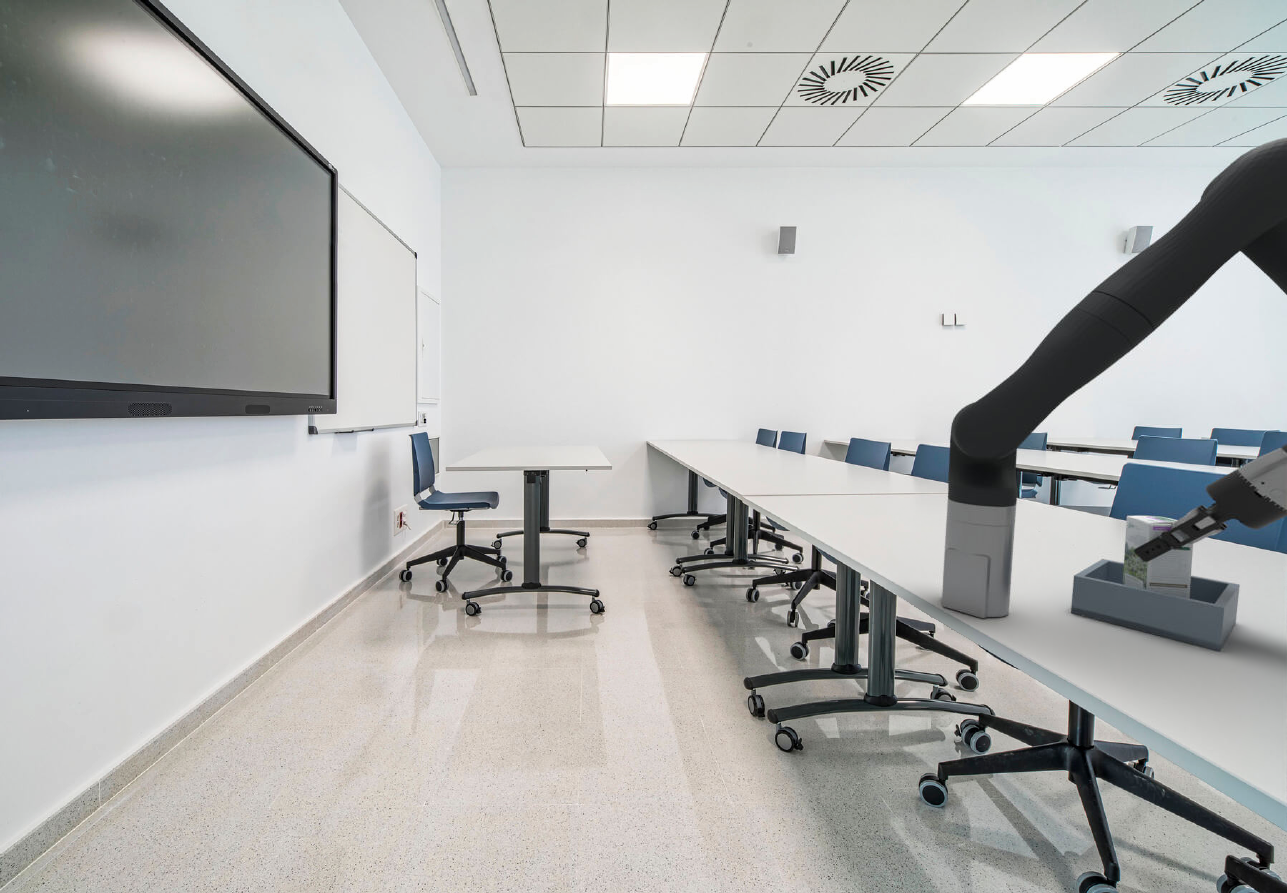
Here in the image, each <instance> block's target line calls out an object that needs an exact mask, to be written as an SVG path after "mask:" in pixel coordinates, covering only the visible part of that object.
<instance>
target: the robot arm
mask: <svg viewBox="0 0 1287 893" xmlns="http://www.w3.org/2000/svg"><path fill="white" fill-rule="evenodd" d="M1239 252H1240V253H1242V254H1243V255H1244V256H1245V257H1247V259H1249V260H1250V261H1251V262H1252V263H1253V264H1254V265H1255V266H1256V267H1257V268H1258V269H1259V270H1261V271H1262V272H1263V273H1264V274H1265V275H1266V276H1267V277H1269V279H1270V280H1271V281H1272V282H1273V283H1274V284H1275V285H1276V286H1277V287H1278V288H1279V289H1280V290H1281V291H1282V292H1283V293H1284V294H1285V295H1286V296H1287V137H1282V138H1277V139H1274V140H1272V141H1269V142H1265V143H1263V144H1260V145H1258V146H1256V147H1254V148H1252V149H1250V150H1248V151H1247V152H1245V153H1243V154H1242V155H1240V156H1239V157H1238V158H1236V159H1235V160H1233V161H1232V162H1231V163H1229V165H1228V166H1226V168H1224V170H1222V171H1220V173H1219V174H1217V175H1216V176H1215V177H1214V178H1213V179H1212V180H1211V181H1210V182H1209V183H1208V184H1207V186H1206V187H1205V188H1204V190H1203V192H1202V194H1201V196H1200V200H1199V202H1197V203H1196V205H1195V206H1194V207H1193V208H1192V209H1191V210H1190V211H1189V212H1188V213H1187V214H1185V216H1184V217H1183V218H1182V219H1181V220H1180V221H1178V222H1177V224H1176V225H1174V226H1173V227H1172V228H1171V229H1169V230H1168V232H1166V233H1165V234H1163V235H1162V236H1161V237H1159V239H1157V240H1156V241H1154V242H1153V243H1151V244H1150V245H1149V246H1147V247H1146V248H1145V249H1144V250H1142V251H1141V252H1139V253H1138V254H1136V255H1135V256H1134V257H1133V258H1131V259H1130V260H1128V261H1127V262H1126V263H1125V264H1123V265H1122V266H1120V267H1119V268H1118V269H1117V270H1115V271H1114V272H1113V273H1112V274H1110V275H1109V276H1108V277H1107V278H1106V279H1104V280H1103V281H1102V282H1101V283H1099V284H1098V285H1097V286H1096V287H1095V288H1093V289H1092V290H1091V291H1090V292H1089V293H1087V295H1085V297H1084V298H1083V299H1082V300H1080V301H1079V302H1078V303H1077V304H1076V305H1075V306H1074V307H1073V308H1072V309H1071V310H1069V312H1067V313H1066V314H1065V316H1063V317H1062V318H1061V319H1060V320H1059V321H1058V322H1057V323H1056V324H1055V326H1054V327H1053V328H1052V329H1051V330H1050V331H1049V333H1048V334H1047V335H1046V336H1045V337H1044V338H1043V340H1042V341H1040V343H1039V344H1038V346H1037V347H1036V348H1035V349H1034V351H1033V352H1032V353H1031V355H1030V356H1029V357H1028V358H1027V359H1026V360H1025V362H1024V363H1023V364H1021V366H1020V367H1019V368H1017V369H1016V370H1015V371H1014V372H1013V373H1012V374H1010V375H1009V376H1008V377H1007V378H1006V379H1004V380H1003V381H1002V382H1000V384H998V385H997V386H995V387H994V388H993V389H991V391H989V392H987V393H986V394H985V395H984V396H982V397H981V398H979V399H978V400H976V401H974V402H972V403H969V404H967V405H965V406H964V407H962V408H961V409H960V410H959V411H958V412H957V413H956V415H955V416H954V417H953V420H952V422H951V426H950V427H951V428H950V438H949V440H950V441H949V459H948V460H949V461H948V477H947V479H948V480H947V481H948V482H947V483H948V486H947V490H948V491H947V503H946V504H947V505H946V506H947V507H946V522H945V537H944V538H945V539H944V540H945V541H944V554H943V555H944V556H943V569H942V570H943V571H942V572H943V573H942V574H943V575H942V589H941V590H942V591H941V592H942V593H941V607H944V608H948V609H951V610H955V611H957V612H961V613H964V614H968V615H971V616H975V617H977V618H981V619H985V618H999V617H1005V616H1008V615H1009V613H1010V604H1011V603H1010V602H1011V589H1012V588H1011V587H1012V570H1013V556H1014V554H1013V553H1014V540H1015V528H1016V527H1015V526H1016V513H1017V512H1016V511H1017V503H1018V502H1017V501H1018V485H1017V456H1018V453H1017V452H1018V448H1019V447H1020V446H1021V445H1022V444H1023V443H1024V442H1025V441H1026V440H1027V439H1028V438H1029V436H1030V435H1031V434H1032V433H1034V431H1035V430H1036V429H1037V428H1038V427H1039V426H1040V425H1041V424H1042V423H1043V422H1044V420H1046V419H1047V418H1048V416H1049V415H1051V414H1052V413H1053V411H1055V410H1056V409H1057V408H1058V407H1059V406H1060V405H1062V403H1063V402H1064V401H1066V400H1067V399H1068V398H1069V397H1071V396H1072V395H1074V394H1075V393H1076V392H1077V391H1079V390H1080V389H1082V388H1084V387H1085V386H1086V385H1087V384H1090V382H1092V381H1093V380H1095V379H1096V378H1097V377H1098V376H1101V375H1102V373H1104V372H1105V371H1107V370H1108V369H1109V368H1111V367H1112V366H1113V365H1115V363H1117V362H1118V361H1120V360H1121V359H1122V358H1123V357H1125V356H1126V355H1127V354H1128V353H1130V352H1131V351H1132V350H1133V349H1135V348H1136V347H1138V345H1139V344H1141V343H1142V342H1143V341H1145V339H1147V338H1148V337H1149V336H1150V335H1152V334H1153V332H1155V331H1156V330H1158V328H1160V326H1161V325H1162V324H1164V322H1166V321H1167V320H1168V319H1169V318H1170V317H1172V315H1174V313H1176V312H1177V311H1178V310H1179V309H1180V308H1181V307H1182V306H1184V304H1185V303H1187V301H1188V300H1189V299H1190V298H1192V297H1193V296H1194V295H1195V294H1196V292H1198V291H1199V290H1200V289H1201V287H1203V286H1204V285H1205V283H1207V282H1208V281H1209V280H1210V279H1211V278H1212V277H1213V275H1215V273H1216V272H1218V271H1219V270H1220V269H1221V268H1222V267H1223V266H1224V265H1225V264H1226V263H1227V262H1229V261H1230V260H1231V259H1232V258H1233V257H1234V256H1235V255H1237V254H1238V253H1239ZM1205 492H1206V493H1207V495H1208V496H1209V498H1211V500H1212V501H1215V502H1214V503H1212V504H1211V505H1210V506H1208V507H1206V506H1204V504H1201V505H1199V506H1197V507H1196V508H1194V509H1192V510H1190V511H1189V512H1187V513H1186V515H1184V516H1183V517H1181V518H1178V521H1176V522H1174V523H1172V524H1171V525H1170V527H1171V529H1170V530H1168V531H1166V532H1165V531H1164V532H1162V533H1160V535H1159V536H1158V537H1156V538H1155V539H1153V540H1151V541H1149V542H1147V543H1145V544H1143V545H1141V546H1139V547H1138V548H1136V549H1135V550H1134V552H1135V554H1136V555H1137V556H1139V557H1140V558H1141V559H1142V560H1143V561H1145V562H1148V561H1150V560H1152V559H1154V558H1156V557H1158V556H1160V555H1162V554H1164V553H1166V552H1168V551H1170V550H1174V549H1175V550H1177V549H1180V548H1182V546H1184V545H1186V544H1188V543H1189V544H1193V545H1194V544H1196V543H1198V542H1201V541H1203V540H1204V539H1206V538H1207V537H1210V536H1215V535H1217V534H1220V533H1221V532H1223V531H1225V530H1226V529H1227V528H1228V527H1229V525H1227V524H1226V522H1228V521H1230V520H1236V521H1238V522H1240V524H1242V525H1243V526H1245V527H1247V528H1248V529H1252V530H1261V529H1263V528H1265V527H1267V526H1269V525H1271V524H1273V523H1274V522H1277V521H1279V520H1281V519H1283V518H1286V517H1287V443H1286V444H1284V445H1283V446H1281V447H1279V448H1277V449H1274V450H1272V451H1271V452H1268V453H1265V454H1263V455H1260V456H1259V457H1258V456H1257V458H1255V459H1253V460H1251V461H1249V462H1247V463H1245V464H1244V465H1242V466H1241V467H1239V468H1237V469H1235V470H1233V471H1231V472H1229V473H1228V474H1225V475H1224V476H1222V477H1220V478H1219V479H1216V480H1215V481H1214V482H1211V483H1210V484H1208V485H1207V486H1206V487H1205ZM1183 522H1184V523H1183ZM1173 532H1176V533H1178V534H1179V535H1180V536H1181V537H1182V538H1183V541H1181V542H1180V541H1179V540H1178V539H1177V538H1176V537H1175V536H1174V535H1173V534H1171V533H1173Z"/></svg>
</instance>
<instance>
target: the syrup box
mask: <svg viewBox="0 0 1287 893" xmlns="http://www.w3.org/2000/svg"><path fill="white" fill-rule="evenodd" d="M1178 520H1179V519H1178ZM1178 520H1177V519H1173V518H1169V517H1165V516H1157V515H1127V516H1126V525H1125V526H1126V527H1125V537H1124V538H1125V539H1124V542H1125V543H1124V557H1123V558H1124V559H1123V563H1124V571H1123V585H1128V586H1132V587H1137V588H1142V589H1146V590H1151V591H1156V592H1161V593H1165V594H1170V595H1175V596H1179V597H1184V598H1190V584H1191V576H1192V564H1193V551H1194V549H1193V548H1194V544H1189V543H1188V544H1186V545H1184V546H1182V548H1180V549H1177V550H1175V549H1174V550H1170V551H1168V552H1166V553H1164V554H1162V555H1160V556H1158V557H1156V558H1154V559H1152V560H1150V561H1148V562H1145V561H1143V560H1142V559H1141V558H1140V557H1139V556H1137V555H1136V554H1135V552H1134V550H1135V549H1136V548H1138V547H1139V546H1141V545H1143V544H1145V543H1147V542H1149V541H1151V540H1153V539H1155V538H1156V537H1158V536H1159V535H1160V533H1162V532H1164V531H1165V532H1166V531H1168V530H1170V529H1171V527H1170V525H1171V524H1172V523H1174V522H1176V521H1178ZM1183 523H1184V522H1183ZM1171 534H1173V535H1174V536H1175V537H1176V538H1177V539H1178V540H1179V541H1180V542H1181V541H1183V538H1182V537H1181V536H1180V535H1179V534H1178V533H1176V532H1173V533H1171Z"/></svg>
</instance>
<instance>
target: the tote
mask: <svg viewBox="0 0 1287 893" xmlns="http://www.w3.org/2000/svg"><path fill="white" fill-rule="evenodd" d="M1123 571H1124V562H1121V561H1116V560H1111V559H1104V558H1102V559H1100V560H1098V561H1097V562H1096V561H1095V563H1093V564H1091V565H1090V566H1088V567H1086V568H1085V569H1083V570H1081V571H1079V572H1077V573H1076V574H1074V575H1073V582H1072V595H1071V608H1070V610H1071V611H1070V613H1071V614H1074V613H1076V614H1075V615H1077V614H1078V616H1081V615H1084V616H1083V617H1085V616H1086V618H1089V619H1093V618H1094V619H1093V620H1096V621H1097V620H1098V621H1102V622H1105V623H1109V624H1112V625H1117V626H1121V627H1124V628H1128V629H1132V630H1136V631H1140V632H1144V633H1148V634H1151V635H1155V636H1158V637H1162V638H1167V639H1170V640H1174V641H1178V642H1181V643H1186V644H1190V645H1194V646H1196V647H1197V646H1198V647H1201V648H1205V649H1210V650H1211V651H1216V652H1221V650H1222V648H1223V647H1224V645H1225V643H1226V641H1227V639H1228V638H1229V636H1230V635H1231V632H1232V630H1233V629H1234V627H1235V625H1236V622H1237V614H1238V606H1239V605H1238V604H1239V603H1238V602H1239V594H1240V586H1241V585H1240V584H1237V583H1233V582H1229V581H1228V582H1227V581H1223V580H1218V579H1212V578H1207V577H1203V576H1202V577H1200V576H1195V575H1191V584H1190V598H1184V597H1179V596H1175V595H1170V594H1165V593H1161V592H1156V591H1151V590H1146V589H1142V588H1137V587H1132V586H1128V585H1123Z"/></svg>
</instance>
